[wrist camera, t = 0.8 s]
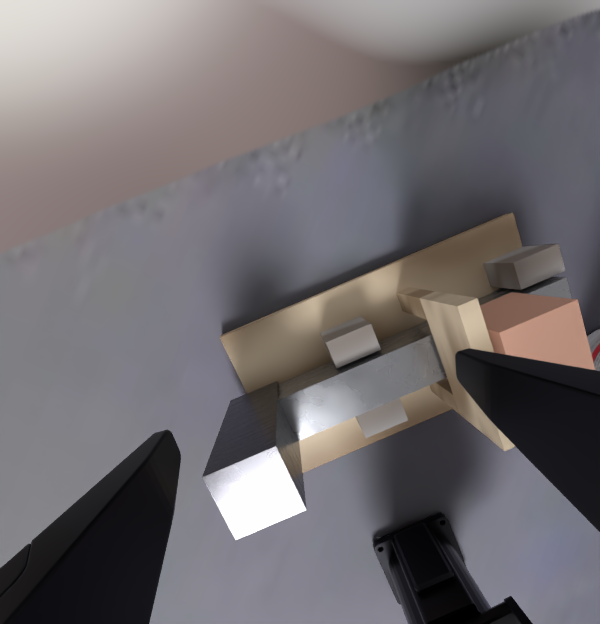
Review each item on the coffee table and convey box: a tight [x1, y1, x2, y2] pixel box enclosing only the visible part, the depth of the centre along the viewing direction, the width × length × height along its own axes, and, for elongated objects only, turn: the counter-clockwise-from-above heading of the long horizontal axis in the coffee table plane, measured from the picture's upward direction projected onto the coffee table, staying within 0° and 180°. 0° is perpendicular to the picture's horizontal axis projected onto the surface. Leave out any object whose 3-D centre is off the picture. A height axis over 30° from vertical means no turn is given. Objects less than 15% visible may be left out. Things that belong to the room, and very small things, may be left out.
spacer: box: [480, 292, 595, 370], centre depth 16 cm, size 4×4×4 cm
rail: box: [220, 213, 565, 473], centre depth 18 cm, size 12×22×8 cm, turn 113°
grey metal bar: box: [202, 277, 572, 540], centre depth 17 cm, size 4×22×8 cm, turn 113°
